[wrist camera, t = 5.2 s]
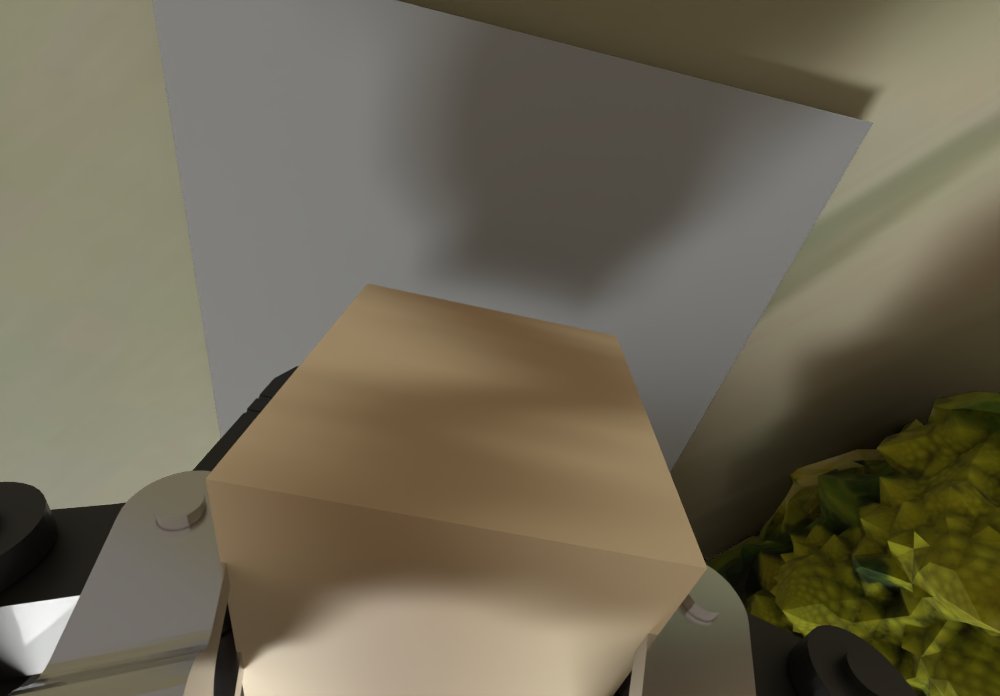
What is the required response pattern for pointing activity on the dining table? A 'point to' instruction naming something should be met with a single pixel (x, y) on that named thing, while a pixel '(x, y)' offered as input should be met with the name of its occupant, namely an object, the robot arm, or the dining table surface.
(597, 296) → the mat
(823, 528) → the vegetable
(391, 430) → the cube
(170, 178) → the dining table surface
